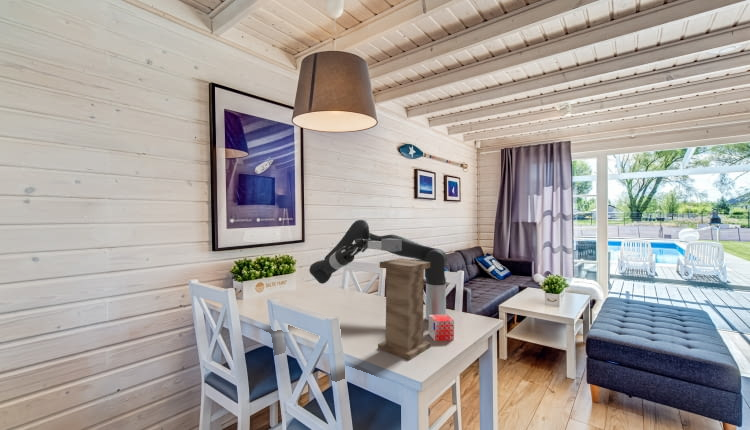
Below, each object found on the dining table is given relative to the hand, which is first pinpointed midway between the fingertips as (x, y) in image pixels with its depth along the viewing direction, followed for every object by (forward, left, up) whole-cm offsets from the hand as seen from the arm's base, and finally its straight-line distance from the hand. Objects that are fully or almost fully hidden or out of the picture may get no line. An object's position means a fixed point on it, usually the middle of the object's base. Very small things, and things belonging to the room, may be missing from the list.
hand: (367, 240), depth 131 cm
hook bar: (0, +5, -3) cm, 6 cm away
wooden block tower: (0, +18, -39) cm, 43 cm away
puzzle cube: (-19, +24, -39) cm, 50 cm away
